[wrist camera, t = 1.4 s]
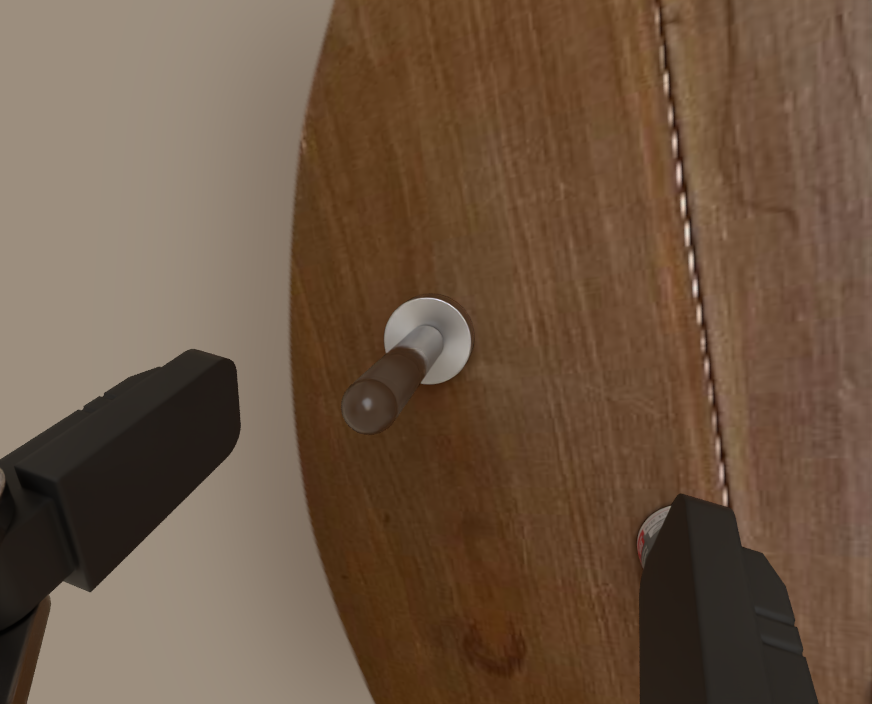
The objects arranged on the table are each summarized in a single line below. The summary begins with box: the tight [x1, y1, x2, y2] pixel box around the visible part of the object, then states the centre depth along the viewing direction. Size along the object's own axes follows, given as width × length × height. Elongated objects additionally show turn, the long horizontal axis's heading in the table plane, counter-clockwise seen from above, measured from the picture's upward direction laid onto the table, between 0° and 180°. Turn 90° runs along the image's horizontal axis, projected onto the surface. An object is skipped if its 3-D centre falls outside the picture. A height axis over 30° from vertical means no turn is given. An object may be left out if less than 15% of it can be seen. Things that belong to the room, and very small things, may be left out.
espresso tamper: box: [341, 294, 474, 435], centre depth 23 cm, size 4×4×13 cm
